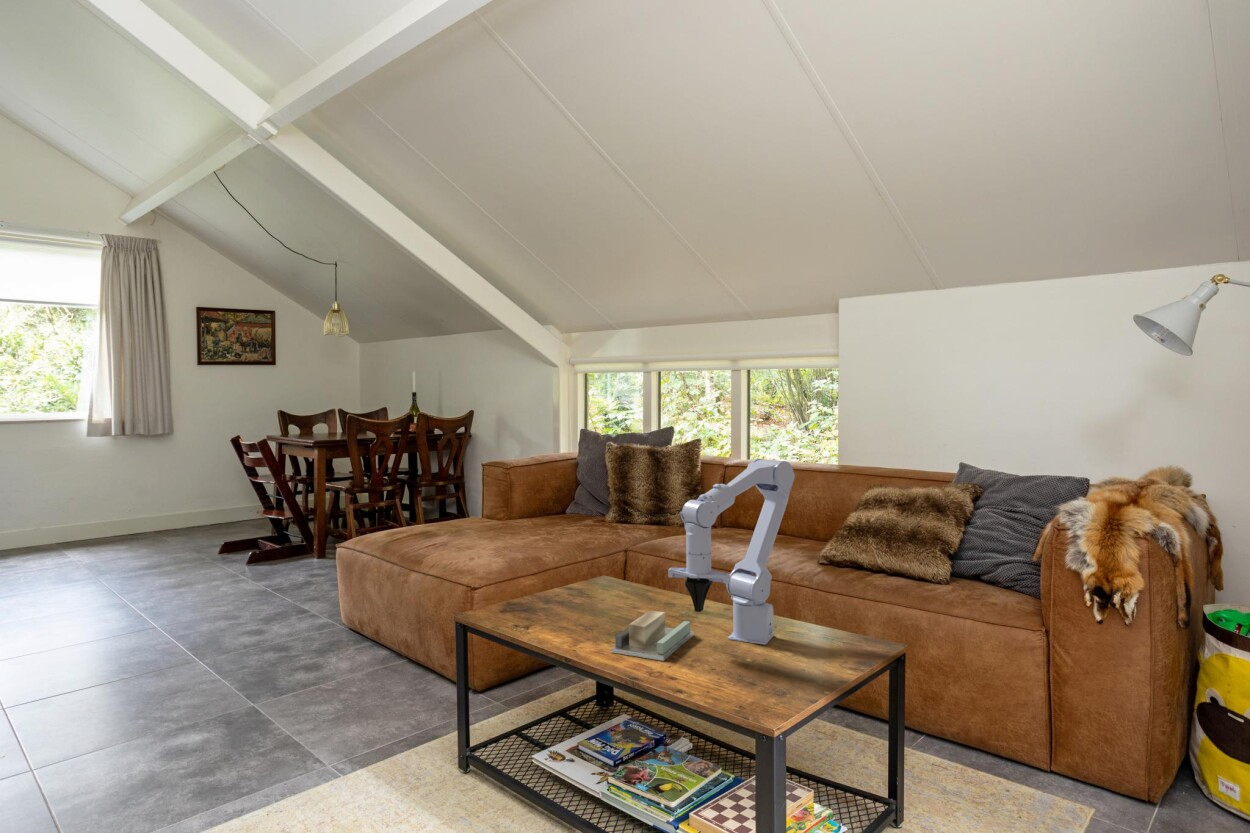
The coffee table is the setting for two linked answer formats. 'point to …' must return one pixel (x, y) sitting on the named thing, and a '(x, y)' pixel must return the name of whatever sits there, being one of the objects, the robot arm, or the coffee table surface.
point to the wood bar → (646, 629)
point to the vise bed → (650, 650)
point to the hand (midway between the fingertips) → (699, 610)
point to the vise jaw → (673, 637)
